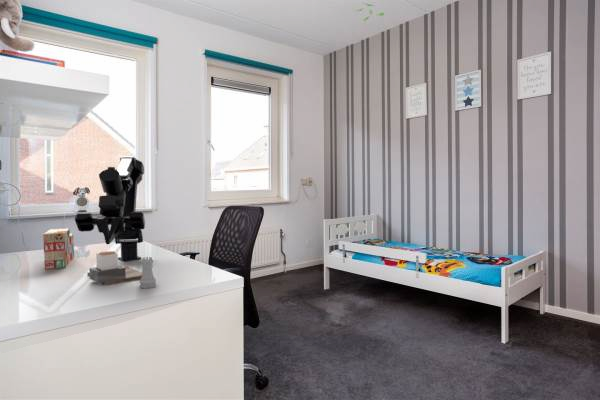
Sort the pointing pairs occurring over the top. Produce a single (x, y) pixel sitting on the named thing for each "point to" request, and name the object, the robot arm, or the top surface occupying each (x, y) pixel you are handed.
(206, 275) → the top surface
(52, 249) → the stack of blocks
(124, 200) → the robot arm
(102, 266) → the key cap
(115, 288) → the top surface
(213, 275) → the top surface
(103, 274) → the key console
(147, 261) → the rook chess piece
